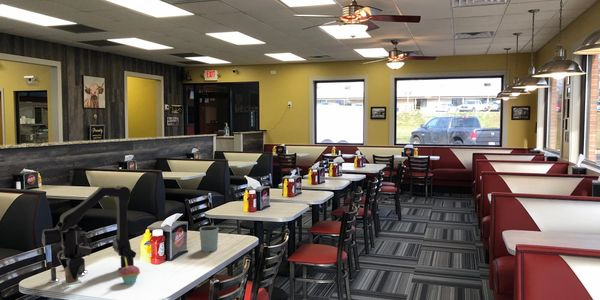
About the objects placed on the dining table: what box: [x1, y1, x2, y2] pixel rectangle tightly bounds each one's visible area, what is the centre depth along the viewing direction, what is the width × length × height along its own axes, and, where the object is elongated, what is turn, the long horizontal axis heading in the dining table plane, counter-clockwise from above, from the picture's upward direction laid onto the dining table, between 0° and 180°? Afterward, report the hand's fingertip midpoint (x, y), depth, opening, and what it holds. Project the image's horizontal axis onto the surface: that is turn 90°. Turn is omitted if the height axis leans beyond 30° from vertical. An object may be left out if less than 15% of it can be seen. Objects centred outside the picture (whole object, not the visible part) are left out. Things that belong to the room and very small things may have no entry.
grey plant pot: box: [199, 225, 219, 253], centre depth 251 cm, size 10×10×12 cm
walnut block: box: [64, 267, 79, 283], centre depth 205 cm, size 4×4×6 cm
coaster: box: [62, 278, 82, 286], centre depth 205 cm, size 6×6×1 cm
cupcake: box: [118, 258, 141, 285], centre depth 203 cm, size 9×8×12 cm
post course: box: [48, 259, 88, 284], centre depth 216 cm, size 19×17×6 cm
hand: (71, 276), depth 205 cm, fingers open, 9 cm apart
